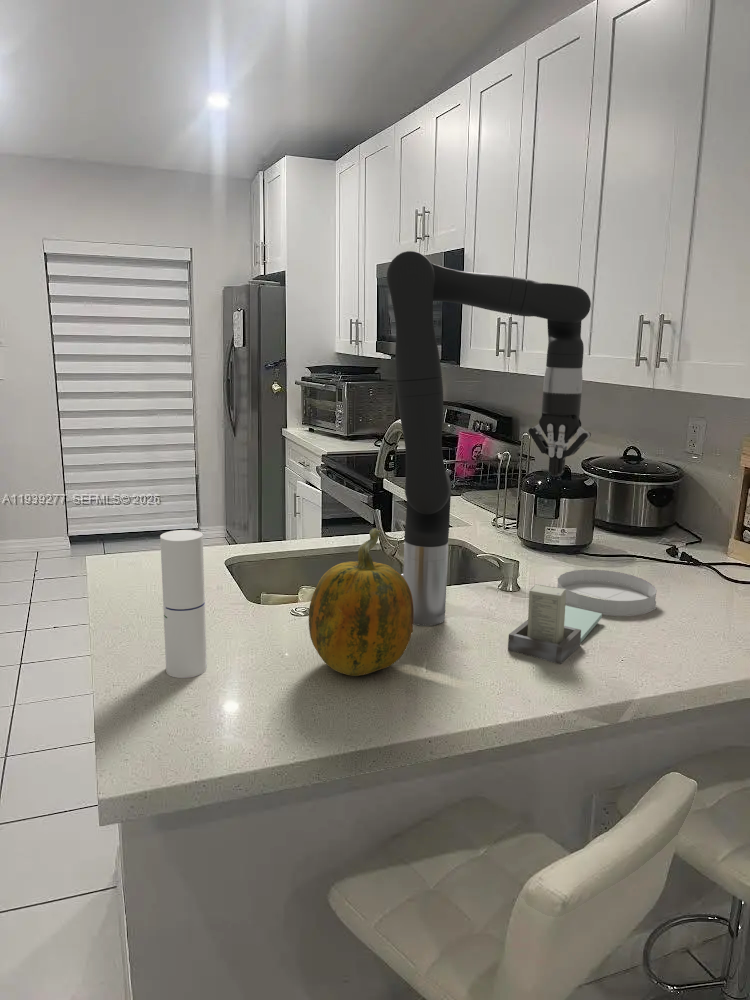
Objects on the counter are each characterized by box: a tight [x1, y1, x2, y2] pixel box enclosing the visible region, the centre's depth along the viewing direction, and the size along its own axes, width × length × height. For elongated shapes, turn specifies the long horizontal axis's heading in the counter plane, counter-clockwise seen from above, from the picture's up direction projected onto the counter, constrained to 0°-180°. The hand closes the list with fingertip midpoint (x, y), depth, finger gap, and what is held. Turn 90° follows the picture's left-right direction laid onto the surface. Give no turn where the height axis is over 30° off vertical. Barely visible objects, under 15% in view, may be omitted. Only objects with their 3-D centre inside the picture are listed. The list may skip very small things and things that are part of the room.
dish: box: [556, 569, 657, 617], centre depth 173 cm, size 22×22×5 cm
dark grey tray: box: [507, 619, 581, 665], centre depth 150 cm, size 20×28×4 cm
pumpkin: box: [308, 527, 414, 677], centre depth 135 cm, size 19×19×25 cm
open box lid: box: [564, 604, 603, 644], centre depth 156 cm, size 10×13×1 cm
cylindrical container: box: [159, 529, 208, 679], centre depth 133 cm, size 7×7×25 cm
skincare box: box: [527, 584, 566, 645], centre depth 144 cm, size 6×4×12 cm
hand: (555, 475), depth 155 cm, fingers closed
